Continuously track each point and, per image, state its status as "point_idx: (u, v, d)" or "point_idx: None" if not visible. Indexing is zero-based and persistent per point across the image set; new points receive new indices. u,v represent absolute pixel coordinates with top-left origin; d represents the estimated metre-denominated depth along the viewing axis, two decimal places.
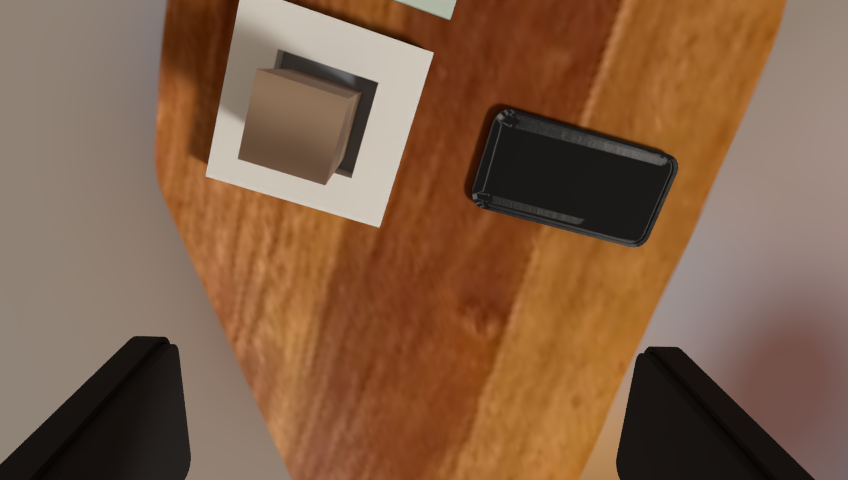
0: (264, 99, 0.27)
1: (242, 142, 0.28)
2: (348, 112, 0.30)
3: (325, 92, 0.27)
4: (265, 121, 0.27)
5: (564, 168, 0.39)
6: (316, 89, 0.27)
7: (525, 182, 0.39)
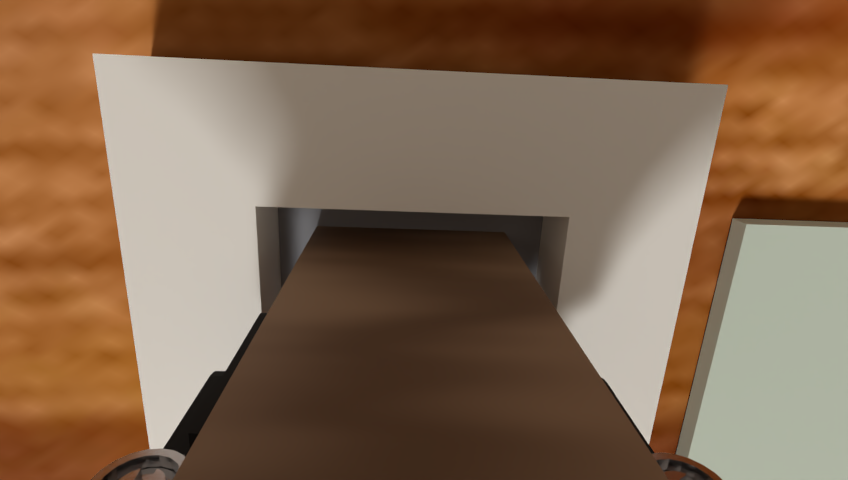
0: None
1: None
2: None
3: None
4: None
5: None
6: None
7: None
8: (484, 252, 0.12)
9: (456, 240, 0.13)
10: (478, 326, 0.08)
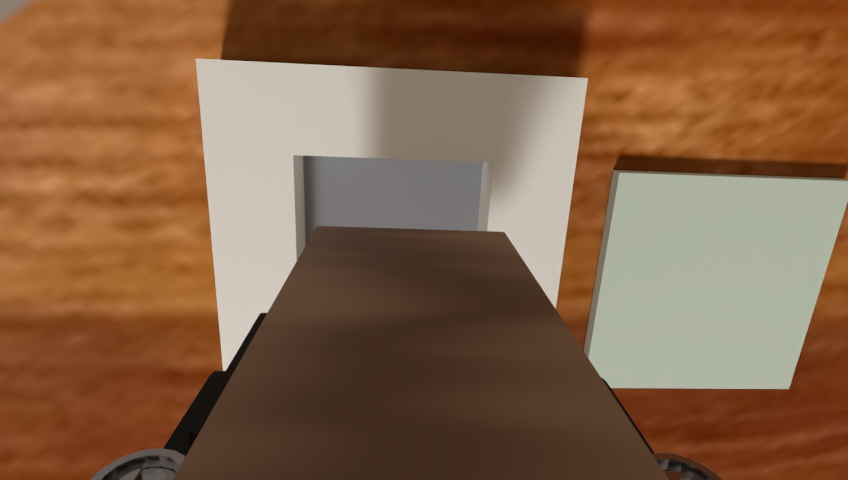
0: None
1: None
2: None
3: None
4: None
5: None
6: None
7: None
8: (483, 252, 0.12)
9: (456, 240, 0.13)
10: (477, 325, 0.08)
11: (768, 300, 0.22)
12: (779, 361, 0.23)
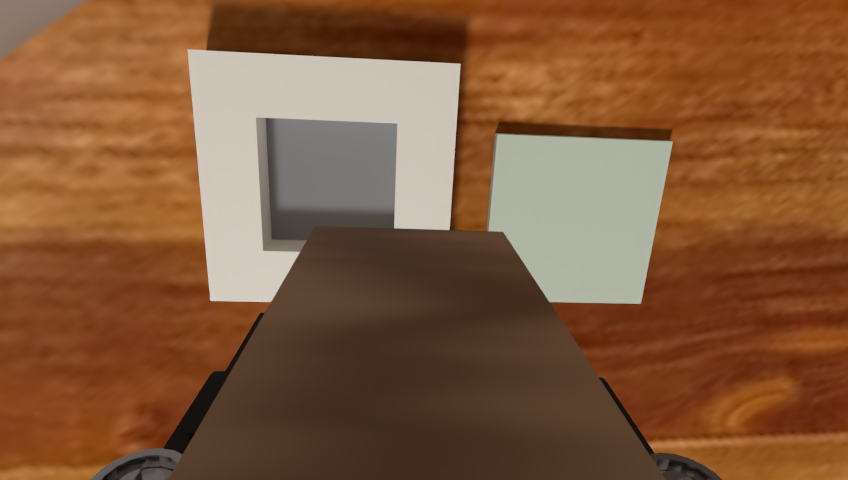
0: None
1: None
2: None
3: None
4: None
5: None
6: None
7: None
8: (482, 252, 0.12)
9: (454, 240, 0.13)
10: (475, 325, 0.08)
11: (617, 232, 0.30)
12: (631, 281, 0.31)
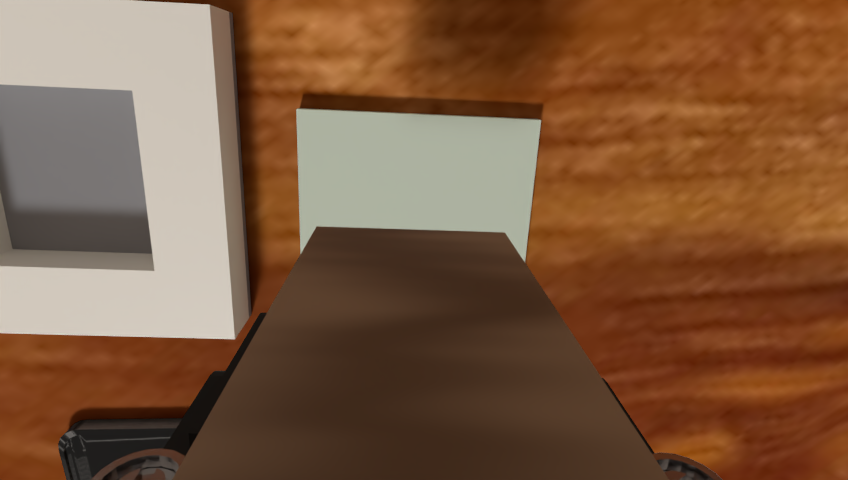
0: None
1: None
2: None
3: None
4: None
5: None
6: None
7: None
8: (484, 253, 0.12)
9: (456, 240, 0.13)
10: (478, 327, 0.08)
11: None
12: None
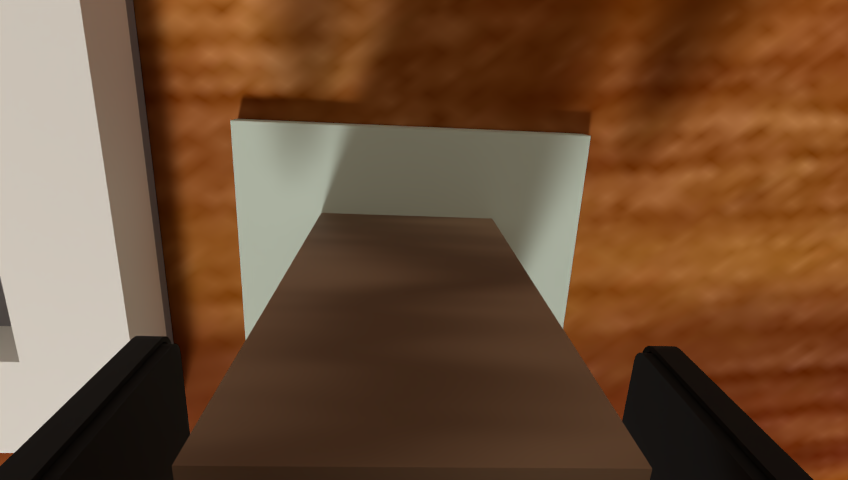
0: None
1: (269, 471, 0.05)
2: None
3: None
4: None
5: None
6: None
7: None
8: (472, 235, 0.13)
9: (447, 225, 0.14)
10: (462, 292, 0.10)
11: None
12: None
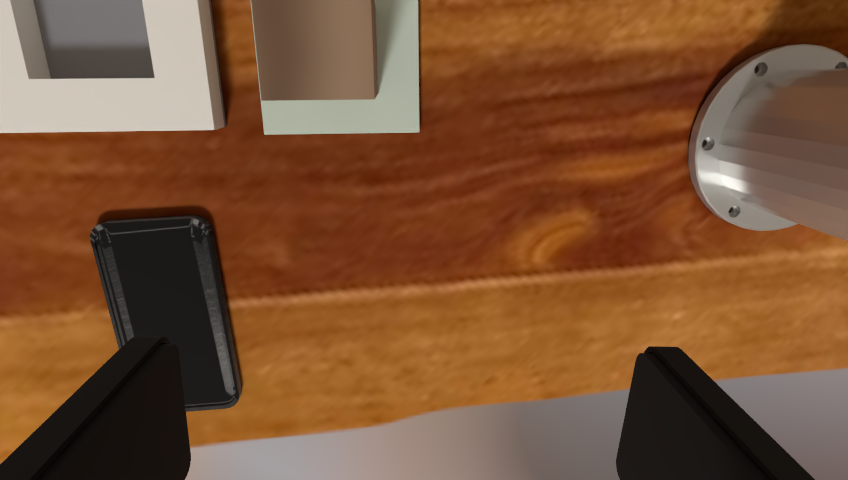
0: None
1: None
2: None
3: (372, 69, 0.22)
4: (311, 2, 0.21)
5: (177, 306, 0.36)
6: (371, 58, 0.22)
7: (143, 274, 0.35)
8: None
9: None
10: None
11: (382, 58, 0.32)
12: (405, 109, 0.33)
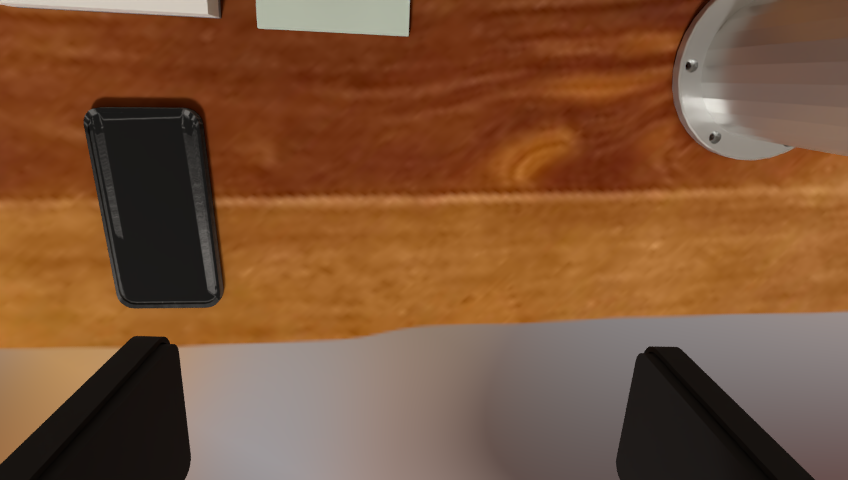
0: None
1: None
2: None
3: None
4: None
5: (165, 198, 0.37)
6: None
7: (133, 163, 0.36)
8: None
9: None
10: None
11: None
12: (396, 11, 0.33)
